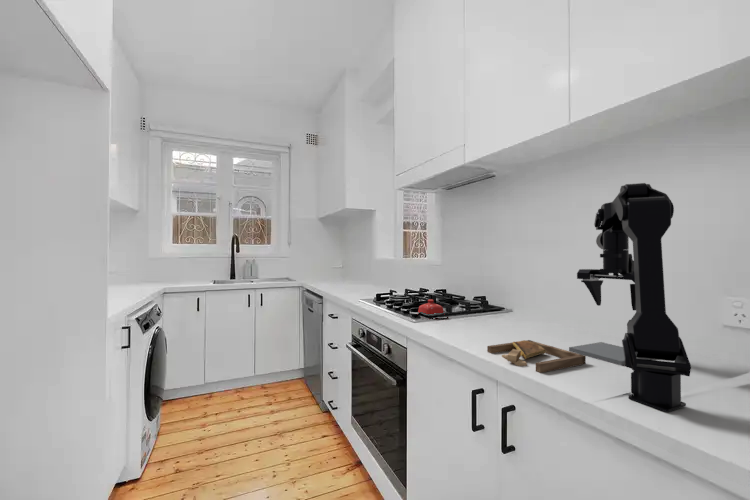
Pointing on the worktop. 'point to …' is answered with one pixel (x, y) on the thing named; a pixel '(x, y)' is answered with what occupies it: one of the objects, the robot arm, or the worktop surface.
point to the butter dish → (430, 308)
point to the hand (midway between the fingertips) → (616, 307)
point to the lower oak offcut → (519, 361)
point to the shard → (528, 348)
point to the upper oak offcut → (514, 355)
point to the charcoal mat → (602, 352)
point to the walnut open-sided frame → (564, 356)
